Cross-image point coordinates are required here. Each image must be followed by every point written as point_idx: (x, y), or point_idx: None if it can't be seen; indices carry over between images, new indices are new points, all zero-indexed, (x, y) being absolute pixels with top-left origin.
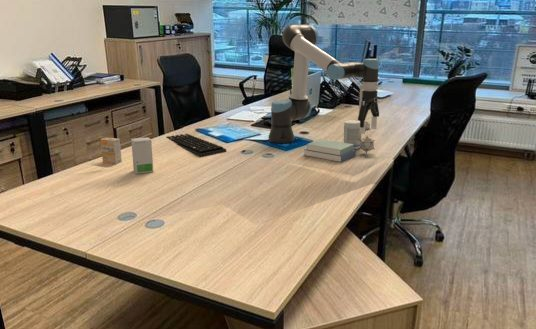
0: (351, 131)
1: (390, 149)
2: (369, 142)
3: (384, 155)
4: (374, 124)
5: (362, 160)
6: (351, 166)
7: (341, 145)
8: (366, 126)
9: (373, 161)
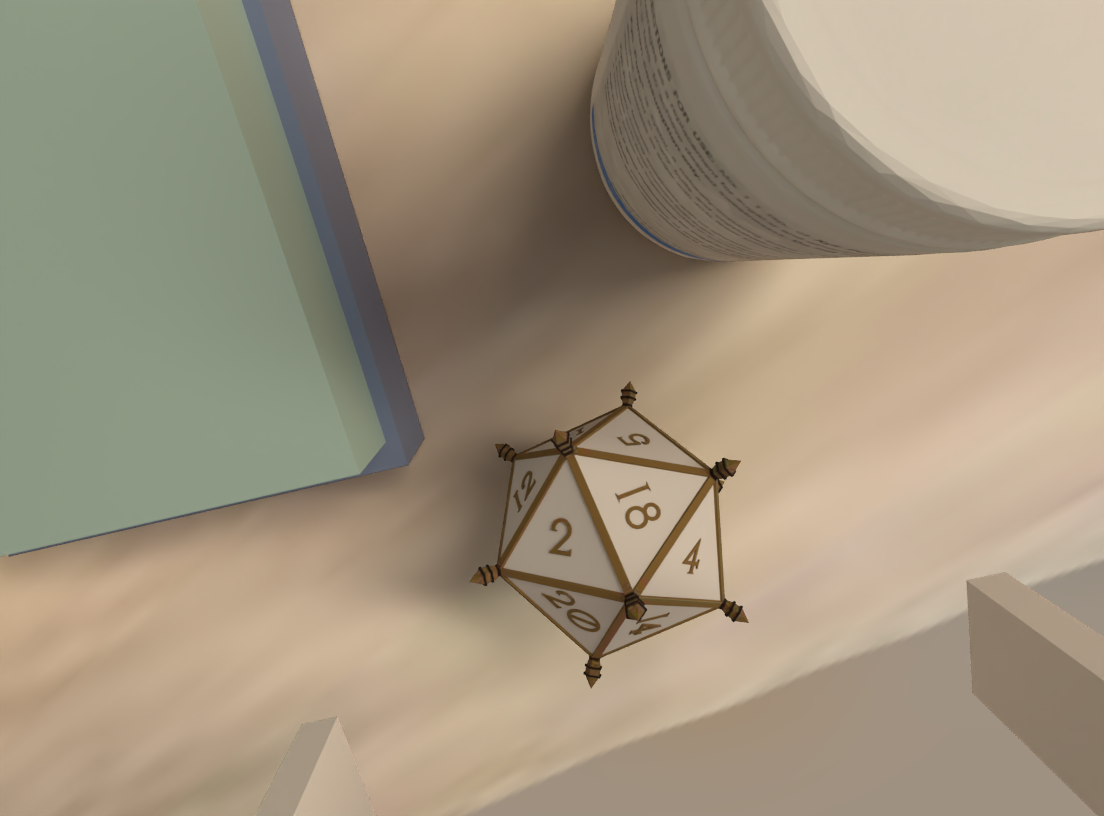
0: (670, 132)
1: (979, 532)
2: (569, 636)
3: (688, 640)
4: (1086, 759)
5: (333, 616)
6: (70, 680)
7: (111, 393)
8: None
9: (402, 703)
